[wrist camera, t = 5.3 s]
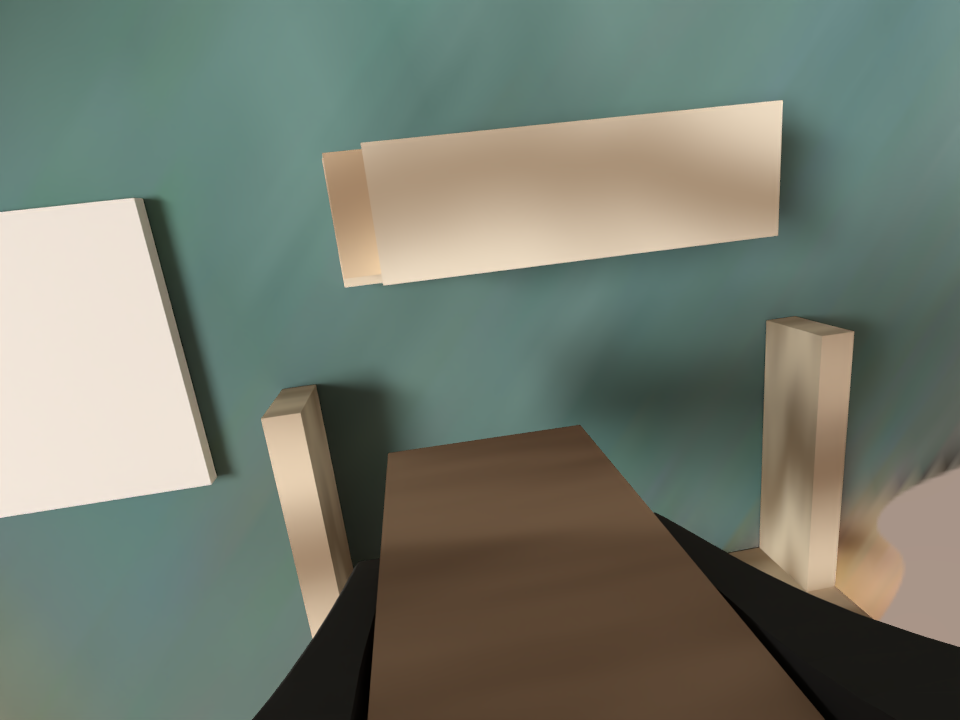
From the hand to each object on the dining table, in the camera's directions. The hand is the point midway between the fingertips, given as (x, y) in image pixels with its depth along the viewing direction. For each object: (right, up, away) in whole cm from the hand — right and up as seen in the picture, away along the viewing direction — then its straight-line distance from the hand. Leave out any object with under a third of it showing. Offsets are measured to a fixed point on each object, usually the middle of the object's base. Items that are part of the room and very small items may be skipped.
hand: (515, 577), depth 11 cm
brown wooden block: (0, +1, +3) cm, 3 cm away
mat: (-16, +4, +7) cm, 18 cm away
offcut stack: (+1, +10, +8) cm, 13 cm away
